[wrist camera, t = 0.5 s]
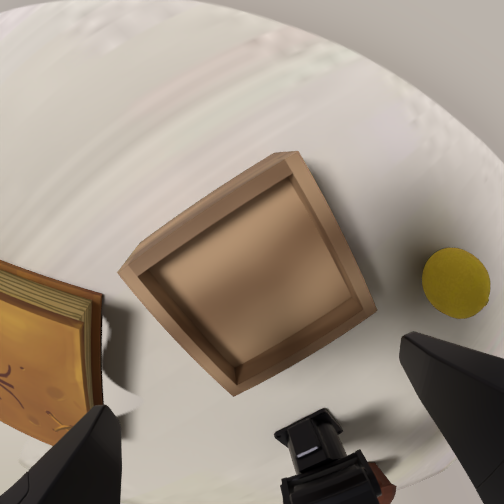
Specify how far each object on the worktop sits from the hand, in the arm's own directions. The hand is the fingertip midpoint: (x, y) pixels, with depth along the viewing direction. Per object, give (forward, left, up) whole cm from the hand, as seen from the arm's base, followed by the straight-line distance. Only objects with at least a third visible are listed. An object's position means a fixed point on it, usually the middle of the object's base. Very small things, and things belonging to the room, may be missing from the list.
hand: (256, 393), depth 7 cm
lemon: (-12, -14, -14) cm, 23 cm away
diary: (+5, +25, -14) cm, 29 cm away
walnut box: (-2, -1, -14) cm, 14 cm away
